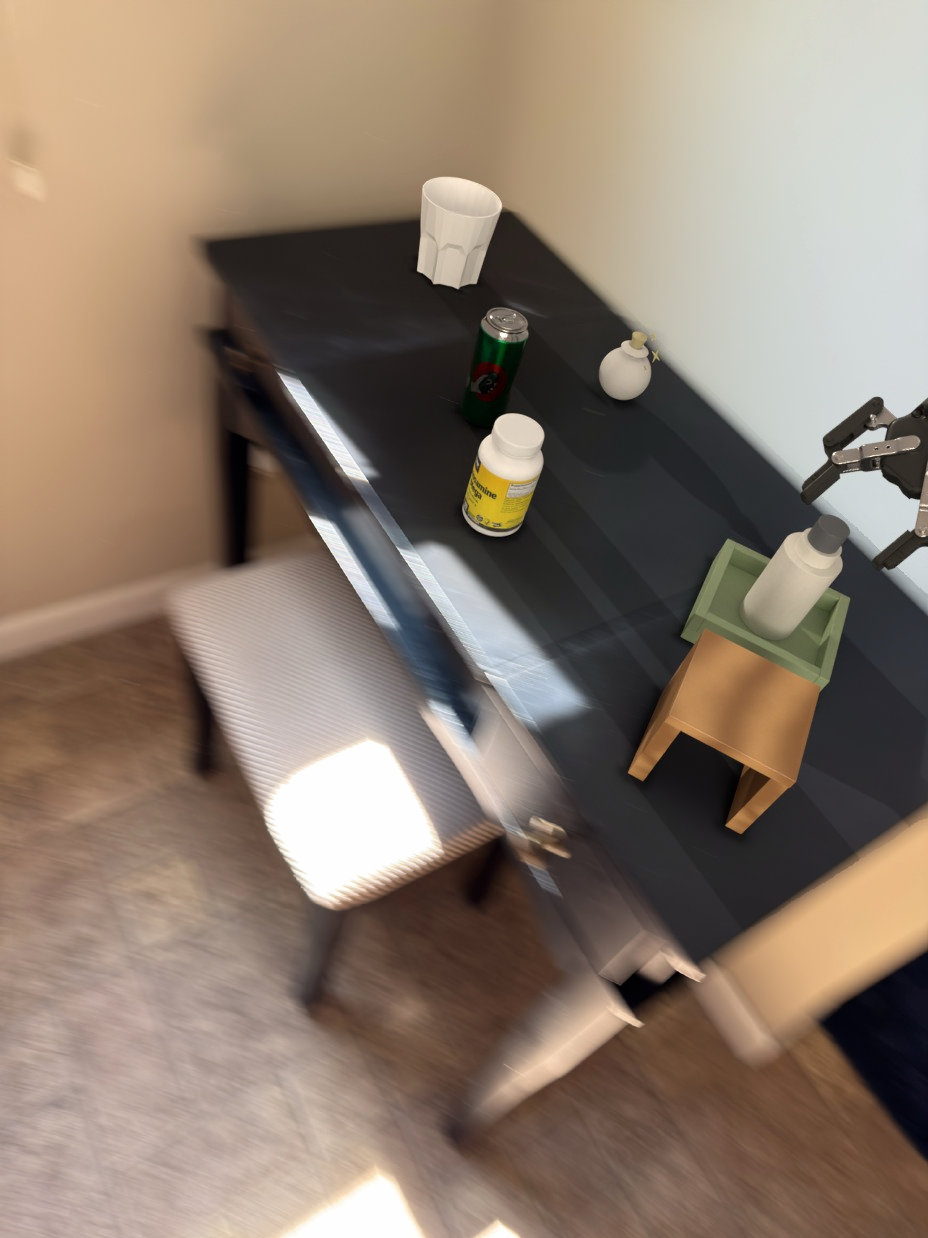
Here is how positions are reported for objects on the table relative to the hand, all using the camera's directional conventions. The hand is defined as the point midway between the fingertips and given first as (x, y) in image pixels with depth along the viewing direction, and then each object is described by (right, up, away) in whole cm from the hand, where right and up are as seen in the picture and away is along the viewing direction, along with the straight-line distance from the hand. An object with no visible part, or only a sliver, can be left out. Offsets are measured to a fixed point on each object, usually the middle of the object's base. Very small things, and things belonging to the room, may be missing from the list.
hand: (838, 532), depth 75 cm
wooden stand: (-13, -19, -3) cm, 23 cm away
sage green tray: (-4, -8, +8) cm, 13 cm away
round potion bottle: (-14, +19, +29) cm, 37 cm away
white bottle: (-4, -7, +7) cm, 11 cm away
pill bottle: (-30, +2, +11) cm, 32 cm away
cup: (-35, +38, +39) cm, 65 cm away
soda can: (-31, +15, +21) cm, 40 cm away
